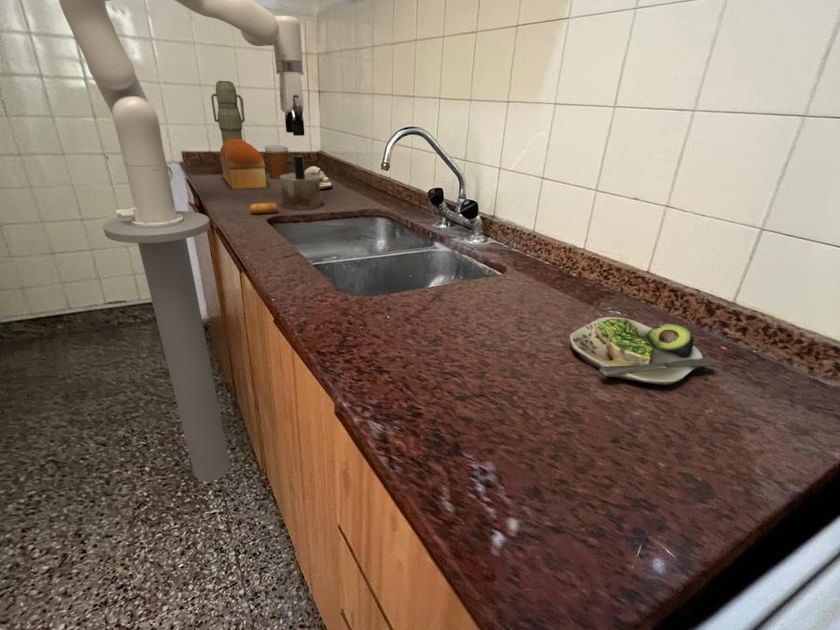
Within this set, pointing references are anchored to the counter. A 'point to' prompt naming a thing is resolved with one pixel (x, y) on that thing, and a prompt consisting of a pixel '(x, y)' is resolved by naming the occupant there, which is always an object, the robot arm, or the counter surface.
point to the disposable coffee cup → (277, 160)
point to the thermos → (228, 111)
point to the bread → (242, 165)
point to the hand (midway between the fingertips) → (295, 133)
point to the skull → (323, 179)
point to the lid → (299, 172)
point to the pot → (301, 194)
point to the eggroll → (263, 208)
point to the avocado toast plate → (638, 350)
